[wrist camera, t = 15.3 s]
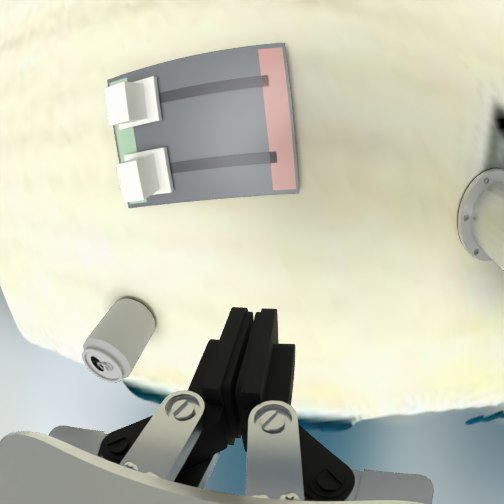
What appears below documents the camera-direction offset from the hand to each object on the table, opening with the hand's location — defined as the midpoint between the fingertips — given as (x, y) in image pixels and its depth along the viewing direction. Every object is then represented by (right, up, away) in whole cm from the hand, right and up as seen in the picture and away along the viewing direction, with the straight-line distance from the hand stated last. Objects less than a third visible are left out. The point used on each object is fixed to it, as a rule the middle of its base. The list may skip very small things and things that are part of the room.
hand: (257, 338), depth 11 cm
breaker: (-12, +12, +20) cm, 26 cm away
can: (-18, -6, +33) cm, 39 cm away
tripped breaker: (-12, +19, +17) cm, 29 cm away
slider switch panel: (-6, +17, +20) cm, 27 cm away
